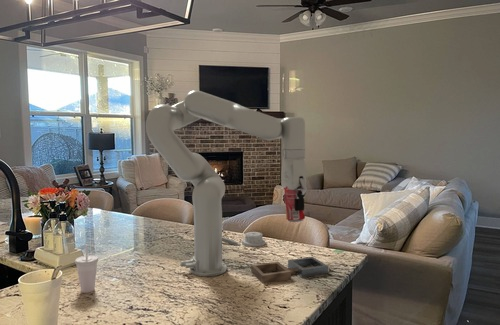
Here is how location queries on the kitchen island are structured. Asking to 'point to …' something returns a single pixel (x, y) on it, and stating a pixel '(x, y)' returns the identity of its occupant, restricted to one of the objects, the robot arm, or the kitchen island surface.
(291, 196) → the soda can
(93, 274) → the smoothie
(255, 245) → the mechanical component
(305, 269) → the socket
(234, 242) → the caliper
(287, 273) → the stand socket
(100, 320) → the kitchen island surface
